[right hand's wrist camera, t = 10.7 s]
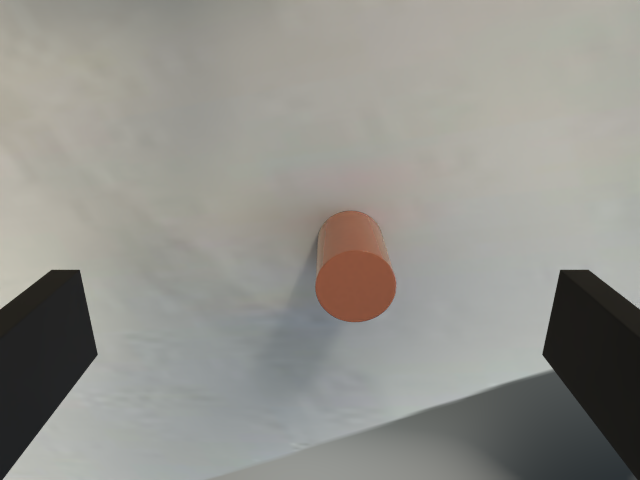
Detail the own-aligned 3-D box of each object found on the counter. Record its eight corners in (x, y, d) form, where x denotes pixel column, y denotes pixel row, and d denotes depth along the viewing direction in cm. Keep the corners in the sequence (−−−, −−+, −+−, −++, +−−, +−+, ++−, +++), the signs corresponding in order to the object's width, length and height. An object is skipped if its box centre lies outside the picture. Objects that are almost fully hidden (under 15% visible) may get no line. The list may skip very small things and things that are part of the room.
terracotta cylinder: (338, 198, 31) (342, 235, 25) (395, 230, 32) (412, 274, 25) (305, 251, 33) (300, 299, 26) (360, 281, 33) (368, 334, 27)
